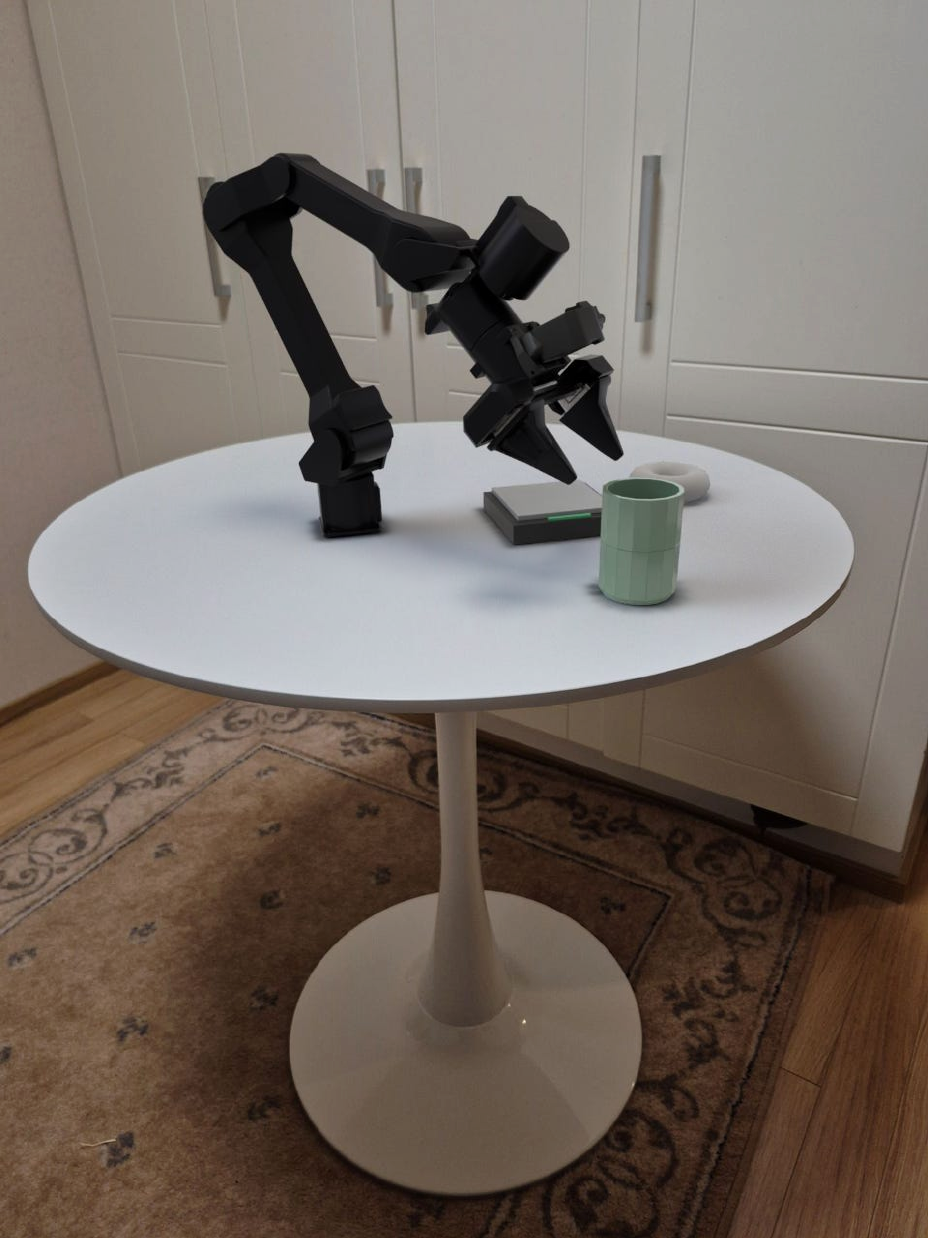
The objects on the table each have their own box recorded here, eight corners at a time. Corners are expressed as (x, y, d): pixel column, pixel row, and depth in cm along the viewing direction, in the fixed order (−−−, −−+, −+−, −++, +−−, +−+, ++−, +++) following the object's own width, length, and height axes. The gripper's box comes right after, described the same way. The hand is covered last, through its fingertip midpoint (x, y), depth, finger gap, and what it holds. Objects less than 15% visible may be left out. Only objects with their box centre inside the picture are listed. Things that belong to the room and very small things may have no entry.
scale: (513, 545, 93) (513, 520, 92) (483, 509, 104) (483, 487, 103) (625, 532, 95) (627, 508, 94) (584, 499, 107) (585, 477, 106)
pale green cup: (615, 611, 77) (621, 503, 72) (587, 581, 83) (591, 481, 79) (688, 601, 78) (698, 495, 74) (655, 573, 84) (662, 474, 80)
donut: (699, 484, 112) (622, 483, 112) (702, 458, 110) (624, 457, 111) (717, 507, 103) (633, 507, 103) (720, 479, 101) (635, 479, 102)
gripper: (489, 279, 67) (611, 434, 66) (598, 265, 81) (701, 393, 80) (415, 375, 75) (524, 516, 73) (527, 347, 88) (620, 466, 87)
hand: (597, 469), depth 78 cm, fingers open, 9 cm apart
